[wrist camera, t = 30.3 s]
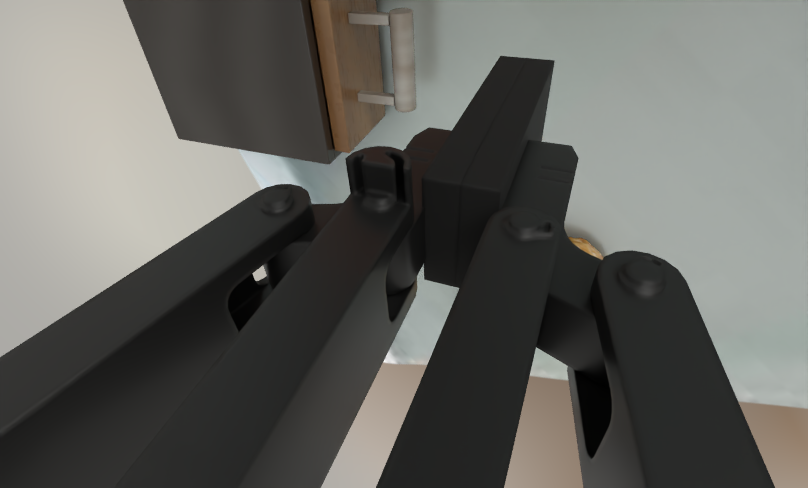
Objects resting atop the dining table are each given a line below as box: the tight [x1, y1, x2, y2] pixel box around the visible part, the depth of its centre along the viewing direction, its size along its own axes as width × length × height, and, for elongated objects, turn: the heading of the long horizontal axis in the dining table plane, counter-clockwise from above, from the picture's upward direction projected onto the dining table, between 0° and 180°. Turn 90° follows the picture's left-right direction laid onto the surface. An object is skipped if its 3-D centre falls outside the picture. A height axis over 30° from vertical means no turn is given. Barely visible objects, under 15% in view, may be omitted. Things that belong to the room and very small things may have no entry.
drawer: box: [308, 0, 416, 153], centre depth 32 cm, size 17×11×6 cm
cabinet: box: [123, 0, 341, 164], centre depth 33 cm, size 14×13×8 cm
